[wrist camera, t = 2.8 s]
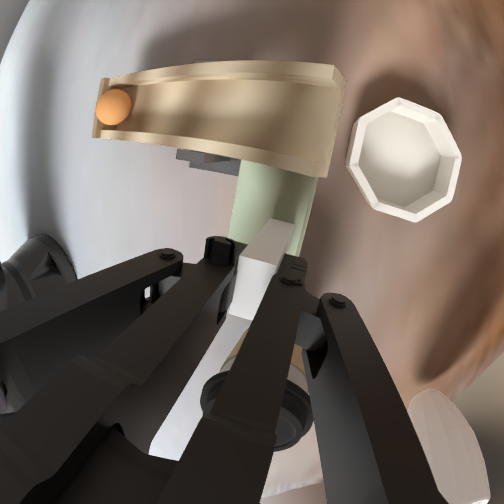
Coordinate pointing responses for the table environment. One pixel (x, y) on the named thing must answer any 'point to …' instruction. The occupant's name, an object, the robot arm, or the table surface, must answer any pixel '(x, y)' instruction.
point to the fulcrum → (210, 155)
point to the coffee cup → (293, 404)
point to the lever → (243, 129)
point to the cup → (449, 448)
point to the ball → (113, 107)
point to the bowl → (404, 159)
